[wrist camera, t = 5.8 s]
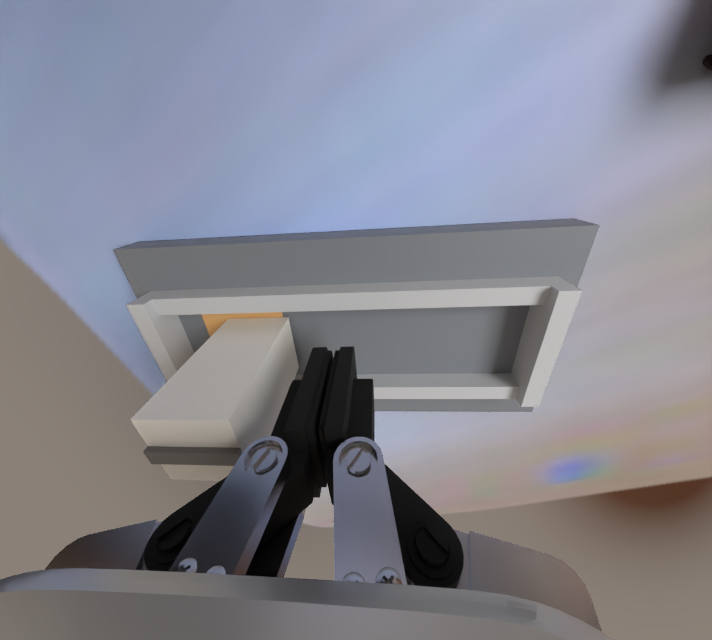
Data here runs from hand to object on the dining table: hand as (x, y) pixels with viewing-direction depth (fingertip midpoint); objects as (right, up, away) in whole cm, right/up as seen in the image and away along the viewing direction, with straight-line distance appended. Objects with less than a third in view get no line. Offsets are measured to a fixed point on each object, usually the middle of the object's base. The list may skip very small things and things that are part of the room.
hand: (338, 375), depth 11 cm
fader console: (0, +2, +4) cm, 4 cm away
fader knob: (-4, +1, +2) cm, 5 cm away
